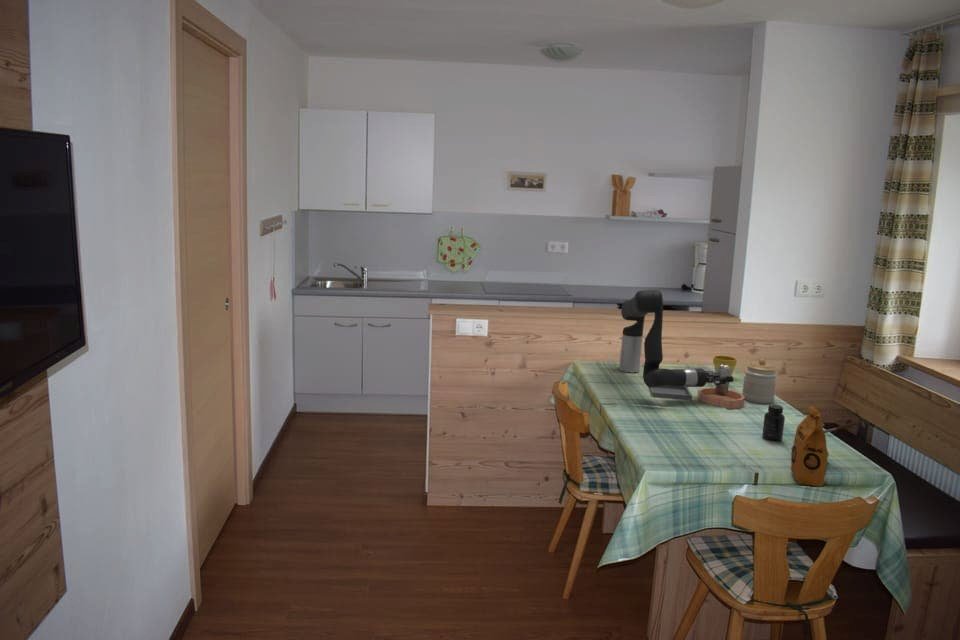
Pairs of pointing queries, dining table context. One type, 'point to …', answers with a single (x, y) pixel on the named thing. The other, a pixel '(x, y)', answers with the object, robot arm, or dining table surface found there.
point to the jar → (759, 382)
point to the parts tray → (671, 392)
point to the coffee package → (810, 451)
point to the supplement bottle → (773, 423)
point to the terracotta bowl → (721, 398)
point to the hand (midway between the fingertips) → (728, 377)
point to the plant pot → (724, 362)
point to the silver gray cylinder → (723, 389)
